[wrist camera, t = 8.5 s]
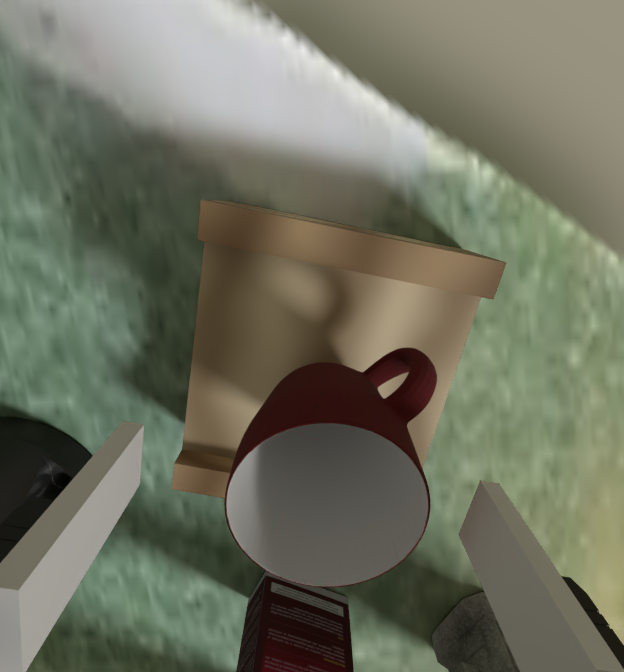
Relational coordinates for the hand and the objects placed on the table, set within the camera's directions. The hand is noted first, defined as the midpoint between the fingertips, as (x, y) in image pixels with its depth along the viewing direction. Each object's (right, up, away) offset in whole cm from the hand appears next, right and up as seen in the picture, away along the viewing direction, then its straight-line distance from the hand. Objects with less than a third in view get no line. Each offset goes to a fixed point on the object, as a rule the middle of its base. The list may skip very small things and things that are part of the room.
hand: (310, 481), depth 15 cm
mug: (+2, +3, +9) cm, 10 cm away
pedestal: (+1, +5, +14) cm, 15 cm away
